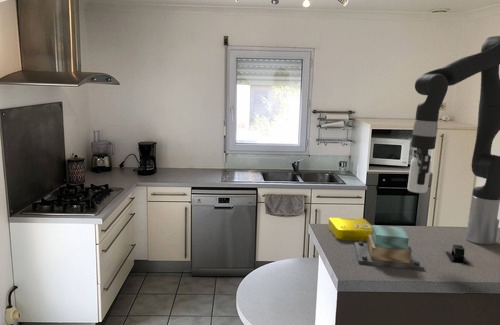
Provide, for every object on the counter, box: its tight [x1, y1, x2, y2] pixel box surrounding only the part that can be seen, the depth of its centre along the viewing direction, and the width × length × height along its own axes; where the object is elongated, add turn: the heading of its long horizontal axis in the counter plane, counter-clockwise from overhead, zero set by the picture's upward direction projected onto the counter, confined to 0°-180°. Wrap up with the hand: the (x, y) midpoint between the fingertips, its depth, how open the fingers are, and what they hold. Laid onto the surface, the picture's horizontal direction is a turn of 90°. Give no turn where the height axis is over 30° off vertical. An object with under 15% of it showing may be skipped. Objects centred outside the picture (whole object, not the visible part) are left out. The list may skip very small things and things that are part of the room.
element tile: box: [327, 217, 373, 242], centre depth 159 cm, size 15×15×5 cm
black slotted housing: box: [445, 243, 470, 265], centre depth 139 cm, size 12×7×5 cm, turn 165°
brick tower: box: [353, 224, 425, 271], centre depth 137 cm, size 20×16×9 cm
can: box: [407, 156, 432, 194], centre depth 142 cm, size 6×6×12 cm
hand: (418, 182), depth 142 cm, fingers closed on can, 6 cm apart
